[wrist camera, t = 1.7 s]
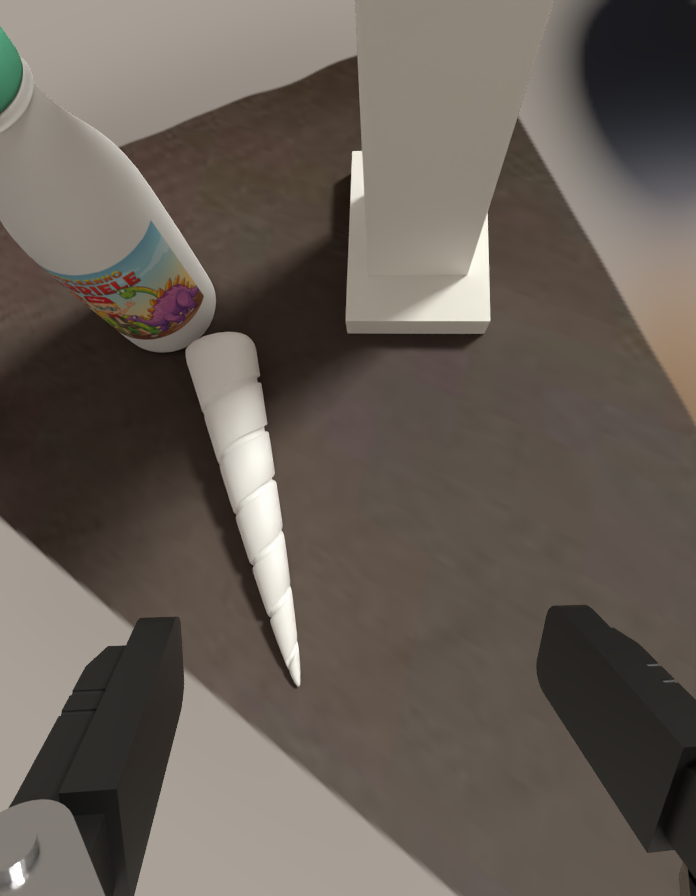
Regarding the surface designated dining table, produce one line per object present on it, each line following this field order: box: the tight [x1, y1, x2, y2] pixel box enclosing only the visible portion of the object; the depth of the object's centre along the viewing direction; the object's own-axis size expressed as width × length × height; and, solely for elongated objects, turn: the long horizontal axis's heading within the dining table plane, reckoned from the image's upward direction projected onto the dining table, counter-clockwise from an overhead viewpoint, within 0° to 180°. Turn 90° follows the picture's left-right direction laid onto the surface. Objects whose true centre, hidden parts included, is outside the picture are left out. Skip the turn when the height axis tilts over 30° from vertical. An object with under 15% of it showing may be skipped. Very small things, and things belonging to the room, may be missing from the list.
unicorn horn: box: [185, 332, 300, 687], centre depth 31 cm, size 5×24×5 cm, turn 11°
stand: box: [346, 0, 554, 334], centre depth 21 cm, size 14×10×32 cm
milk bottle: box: [0, 27, 216, 352], centre depth 27 cm, size 8×8×20 cm
